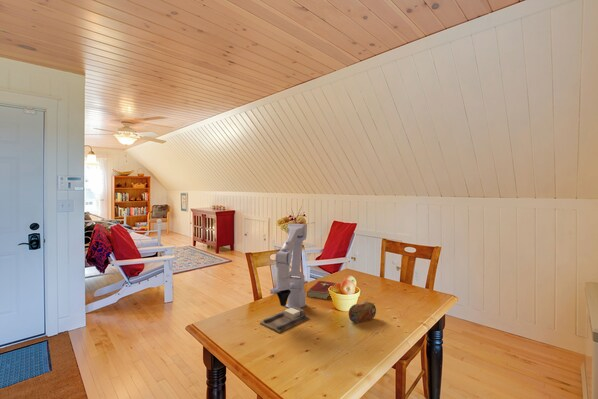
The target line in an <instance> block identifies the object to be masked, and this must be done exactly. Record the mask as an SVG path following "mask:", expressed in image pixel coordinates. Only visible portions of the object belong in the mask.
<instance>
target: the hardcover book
mask: <svg viewBox="0 0 598 399" xmlns="http://www.w3.org/2000/svg"><path fill="white" fill-rule="evenodd" d="M335 284H337V282H332V281H325V280H318V281H317V282H315V284H314V285H312V286H310V288H309V289H308V290H307V292H306V297H310V298H315V297H316V298H317V299H322V298H323V299H322V300H327V299H328V298H329V297H330V295H329V291H328V288H329V287H330V286H334V285H335ZM328 296H329V297H328ZM327 297H328V298H327Z"/></svg>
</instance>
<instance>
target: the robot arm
mask: <svg viewBox="0 0 598 399" xmlns="http://www.w3.org/2000/svg"><path fill="white" fill-rule="evenodd" d="M286 233H287V239H286V240H284V241H283V243H282V245H281V247H280V250H279V251H277V252H276V254H275V259H274V260H275V267H276V268H277V269H276V270H277V271H276V274H277V276H276V278H277V280H276V283H277V284H276V285H275V286H274V287H273V288H271V289H270V290H269V291H270V295H272V296H273V295H275V294H276V295H277V296H278V301H279V304H280V306H281V307H285V308H287V309H289V308H290V306H295V307H297V308H300V309H302V308H303V307H305V306H307V304H306V290H305V289H304V288H305V285H306V281H305V280H306V279H305V274H303V273H302V272H301V263H302V252H303V243H304V241H306V239H307V235H308V226H307V224H306V223H292V222H289V223H288V224H287V227H286ZM290 264H291V266H290ZM290 267H291V269H290Z"/></svg>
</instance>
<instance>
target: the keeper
mask: <svg viewBox="0 0 598 399" xmlns="http://www.w3.org/2000/svg"><path fill="white" fill-rule="evenodd" d="M283 311H284V316H285V317H288V318H290V319H294V318H296V317H298V316H300V311H299V310H296V309H294V308H286V309H285V310H283Z"/></svg>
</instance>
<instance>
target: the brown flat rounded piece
mask: <svg viewBox="0 0 598 399" xmlns="http://www.w3.org/2000/svg"><path fill="white" fill-rule="evenodd" d="M376 312H377V308H376V305H375V304H374V303H372V302H370V301H365V302H361V303H356V304H353V305H351V306H350V308H349V310H348V318H349V320H350V321H351V322H353V323H354V324H356V325H357V324H361V323H366V322H369V321H372V320H373V319H374V317H375V316H376V314H377V313H376Z"/></svg>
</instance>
